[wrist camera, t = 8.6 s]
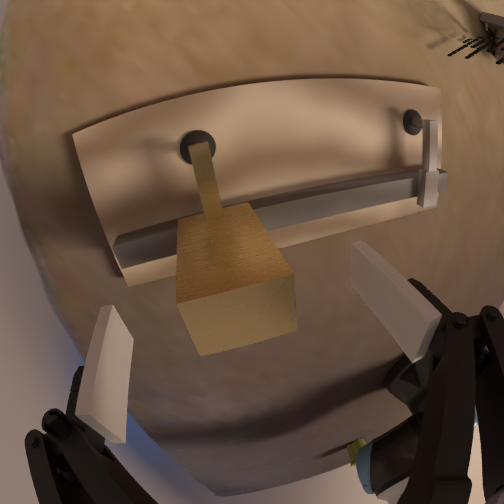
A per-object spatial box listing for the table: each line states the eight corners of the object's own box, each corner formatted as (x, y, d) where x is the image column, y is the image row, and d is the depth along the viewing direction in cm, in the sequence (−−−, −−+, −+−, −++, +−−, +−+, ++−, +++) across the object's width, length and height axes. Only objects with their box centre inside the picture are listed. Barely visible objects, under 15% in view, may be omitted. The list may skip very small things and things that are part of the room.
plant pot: (361, 441, 76) (370, 459, 69) (339, 450, 75) (347, 469, 67) (369, 432, 72) (379, 451, 64) (345, 442, 70) (355, 462, 63)
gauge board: (428, 202, 28) (454, 217, 24) (131, 277, 24) (124, 308, 20) (430, 87, 20) (461, 91, 17) (79, 132, 17) (55, 139, 13)
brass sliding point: (250, 236, 22) (297, 330, 13) (190, 251, 22) (200, 356, 13) (231, 132, 18) (280, 158, 9) (162, 149, 17) (135, 194, 8)
